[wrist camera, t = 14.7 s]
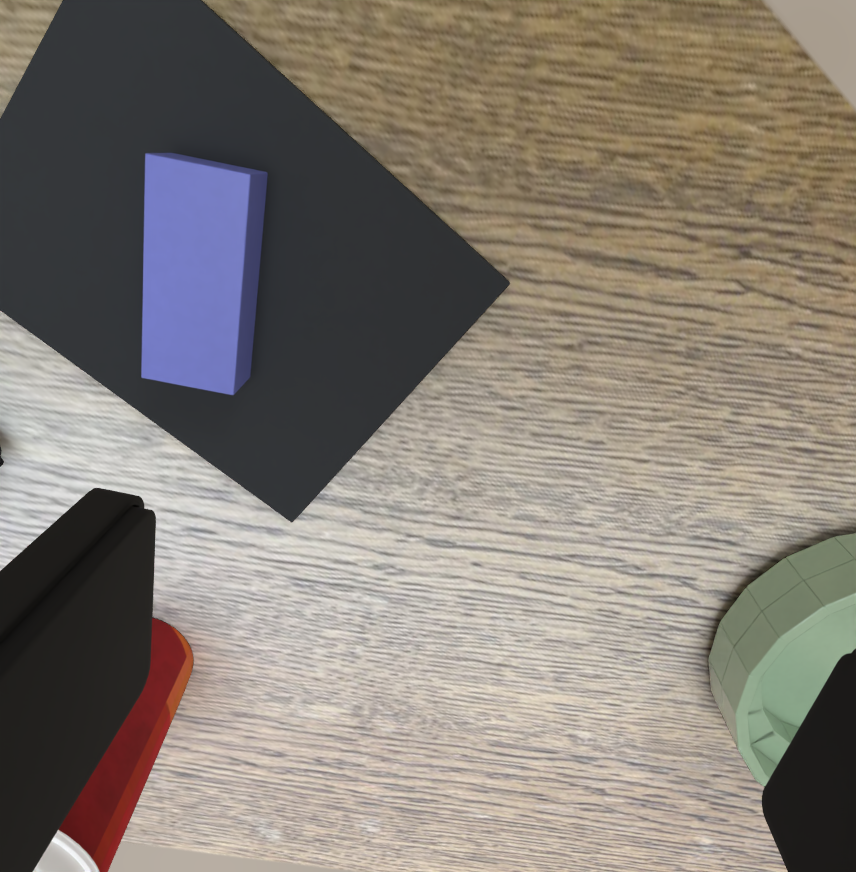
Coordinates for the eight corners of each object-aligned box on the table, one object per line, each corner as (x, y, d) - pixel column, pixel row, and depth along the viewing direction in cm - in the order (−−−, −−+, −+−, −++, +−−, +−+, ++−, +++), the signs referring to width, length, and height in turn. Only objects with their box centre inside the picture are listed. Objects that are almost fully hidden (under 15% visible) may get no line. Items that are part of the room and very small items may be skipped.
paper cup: (56, 610, 37) (-157, 853, 24) (184, 588, 36) (32, 830, 23) (112, 714, 40) (-53, 981, 27) (231, 697, 39) (120, 964, 26)
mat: (112, -82, 24) (107, -85, 24) (509, 281, 29) (510, 283, 29) (-67, 255, 30) (-74, 257, 29) (293, 518, 34) (291, 523, 34)
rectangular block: (171, 152, 27) (144, 152, 25) (268, 172, 27) (250, 174, 25) (164, 361, 31) (140, 378, 28) (250, 377, 31) (233, 396, 29)
